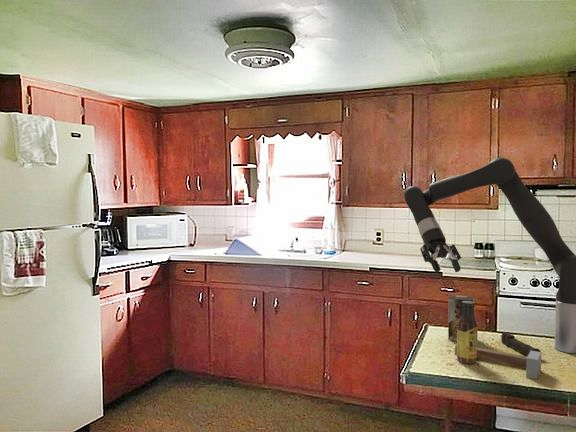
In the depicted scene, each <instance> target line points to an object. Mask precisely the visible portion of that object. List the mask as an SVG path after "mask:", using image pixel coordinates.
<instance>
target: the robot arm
mask: <svg viewBox="0 0 576 432" xmlns="http://www.w3.org/2000/svg"><path fill="white" fill-rule="evenodd" d="M492 185H496V186H497V187H498V188H499V189H500V192H502V193H503V194H504V195H505V197H506V200H508V202H509V204H510V207H511V208H512V210H513V212H514V214H515V216H516V218H517V219H518V221H519V222H520V224H521V225H522V226H523V228H524V229H525V231H526V232H527V233H528V235H529V236H530V237H531V238H532V240H533V241H535V243H536V244H537V245H538V246H539V247H540V249H541V250H542V251H543V253H544V254H545V255H546V257H547V259H548V261H549V262H550V264H551V266H552V267H553V269H554V271H555V273H556V275H557V276H558V277H559V280H558V288H557V289H558V290H557V291H556V293H555V326H554V328H555V329H554V333H555V334H554V348H555V349H556V350H557V351H559V352H562V353H568V354H576V254H575V253H574V252H573V251H572V250H571V248H570V247H569V246H568V245H567V243H566V242H565V241H564V240H563V239H562V236H561V234H560V231H559V230H558V227H557V225H556V223H555V221H554V219H553V218H552V216H551V215H550V213H549V212H548V211H547V209H546V207H544V205H543V204H542V203H541V201H540V200H539V199H538V198H537V197H536V196H535V195H534V194H533V192H531V190H529V189H528V187H527V186H526V185H525V184H524V182H523V181H522V179H521V177H520V176H519V174H518V172H517V170H516V169H515V166H514V164H513V162H512V161H511V160H509V159H508V158H506V157H496V158H494V159H492V160H490V162H489V163H487V164H485V165H483V166H482V167H479V168H477V169H474V170H472V171H469V172H466V173H461V174H458V175H453V176H449V177H446V178H444V179H440V180H437V181H434V182H432V183H430V184H429V185H428V189H426V190H424V191H423V190H422V189H421V188H420V187H418V186H416V185H412V186H409V187H407V188H406V189H405V190H404V194H403V196H404V197H403V198H404V200H405V203H406V205H407V207H408V208H409V210H410V211H411V214H412V216H413V219H414V222H415V225H417V229H418V232H419V234H420V235H419V236H420V237H421V239H422V241H423V245H422V246H421V247H420V252H421V256H422V258H423V261H424V262H425V263H429V264H431V267H432V269H433V271H434V272H435V273H439V272H440V271H441V270H442V269H441V266H440V265H439V262H438V260H437V259H440V258H443V259H445V260H446V261H449V262H450V263H451V265H452V267H453V270H454V272H455V273H458V272H460V271H461V265H460V263H459V261H460V260H461V259H462V257H461V254H460V252H459V250H458V249H457V247H456V245H455V244H451V245H448V244H447V243H446V240H447V239H446V236H445V234H444V232H443V231H442V230H443V229H442V228H441V226H440V224H439V223H438V221H437V219H436V216H435V215H434V212H433V211H432V209H431V208H430V207H429V206H432V205H433V204H435V203H436V202H438V201H441V200H444V199H447V198H450V197H453V196H456V195H459V194H462V193H465V192H467V191H470V190H474V189H477V188H478V189H479V188H481V187H485V186H492Z"/></svg>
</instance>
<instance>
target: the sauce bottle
mask: <svg viewBox="0 0 576 432" xmlns="http://www.w3.org/2000/svg"><path fill="white" fill-rule="evenodd" d="M475 307H476V304H475V301H474V302H472V301H462V316H461V317H460V318H459V321H458V329H457V341H456V345H457V355H456V357H457V358H456V359H457V361H458V362H459V363H463V364H469V365H471V364H474V363H476V362H477V359H476V358H477V348H478V329H479V328H478V327H479V326H478V324H477V321H476V318H475Z"/></svg>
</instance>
